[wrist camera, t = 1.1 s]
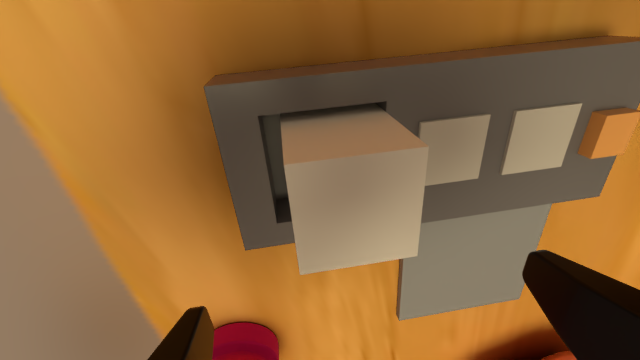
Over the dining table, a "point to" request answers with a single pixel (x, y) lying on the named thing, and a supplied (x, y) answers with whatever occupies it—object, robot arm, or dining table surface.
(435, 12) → the dining table surface
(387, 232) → the block
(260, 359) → the pepper mill
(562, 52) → the power strip
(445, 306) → the mat
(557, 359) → the cell model
